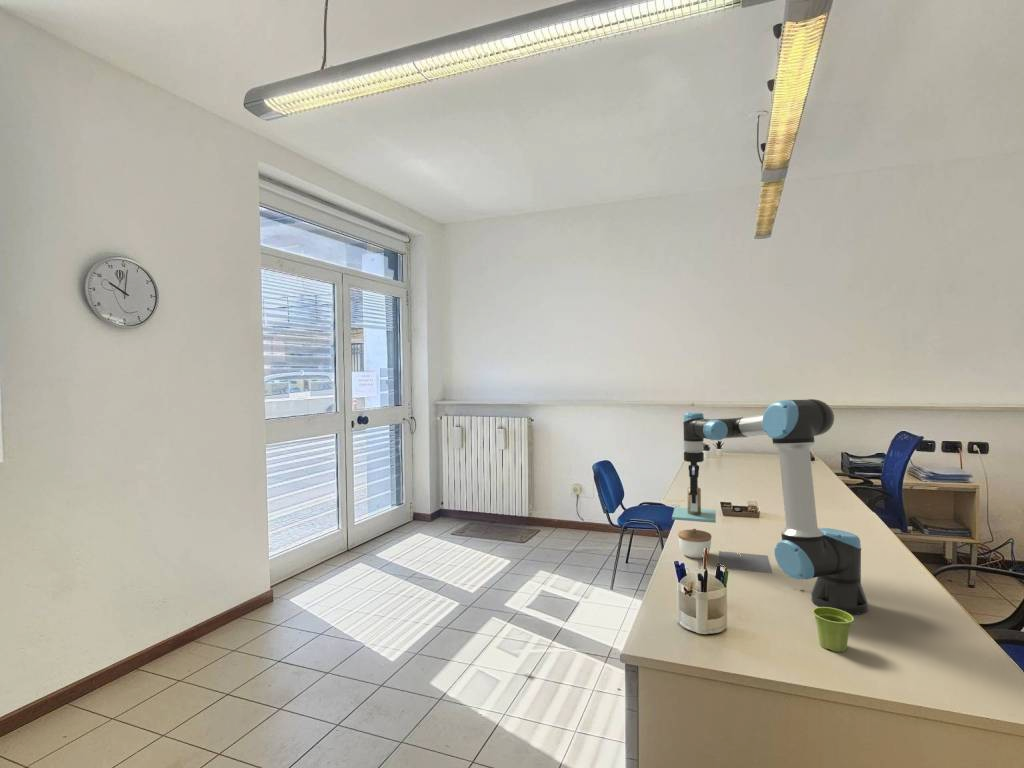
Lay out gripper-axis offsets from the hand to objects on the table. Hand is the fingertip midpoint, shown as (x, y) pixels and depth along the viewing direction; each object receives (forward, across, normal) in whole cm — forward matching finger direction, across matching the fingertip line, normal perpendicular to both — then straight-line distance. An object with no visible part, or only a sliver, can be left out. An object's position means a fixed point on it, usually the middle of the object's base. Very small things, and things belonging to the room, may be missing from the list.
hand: (694, 509), depth 216 cm
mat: (+19, -2, -18) cm, 26 cm away
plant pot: (+19, -63, -37) cm, 76 cm away
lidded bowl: (+19, 0, 0) cm, 19 cm away
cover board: (+3, 0, 0) cm, 3 cm away
